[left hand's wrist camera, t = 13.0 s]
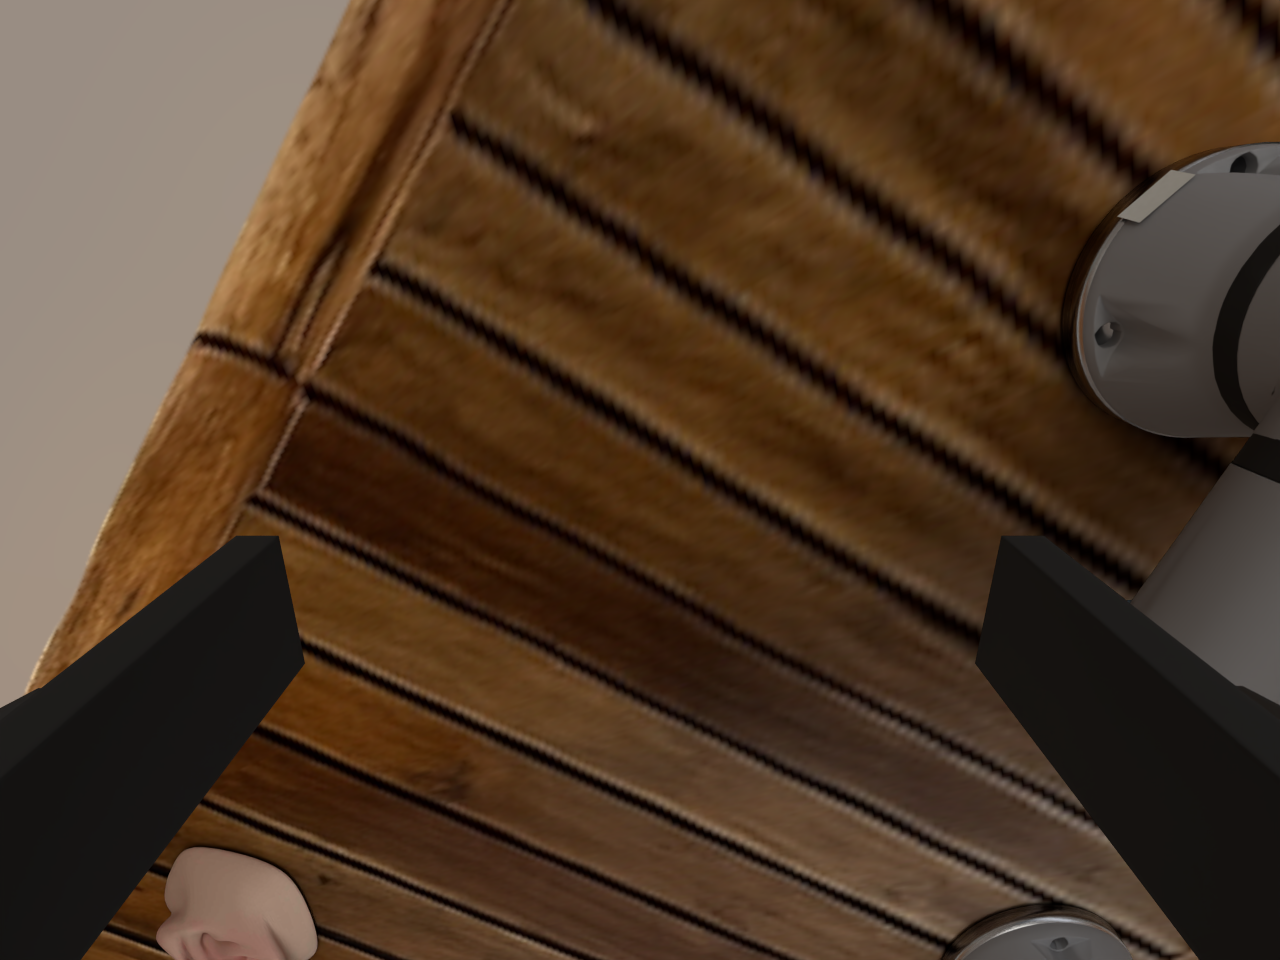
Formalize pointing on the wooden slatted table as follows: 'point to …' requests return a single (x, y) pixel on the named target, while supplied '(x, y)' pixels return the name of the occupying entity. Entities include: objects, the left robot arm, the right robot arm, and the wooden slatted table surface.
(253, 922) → the anatomical model
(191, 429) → the wooden slatted table surface
